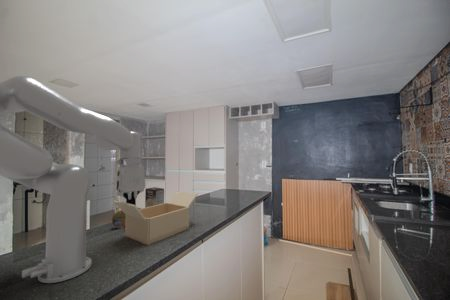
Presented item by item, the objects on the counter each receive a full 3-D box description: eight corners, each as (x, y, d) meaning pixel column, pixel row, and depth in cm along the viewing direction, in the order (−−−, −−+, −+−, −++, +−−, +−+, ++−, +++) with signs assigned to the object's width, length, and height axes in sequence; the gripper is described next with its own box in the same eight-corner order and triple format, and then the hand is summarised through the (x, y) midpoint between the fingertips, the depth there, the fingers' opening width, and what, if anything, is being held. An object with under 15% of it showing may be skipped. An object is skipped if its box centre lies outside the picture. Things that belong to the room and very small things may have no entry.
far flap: (196, 194, 101) (197, 195, 101) (177, 191, 109) (177, 192, 110) (188, 206, 96) (188, 207, 96) (168, 203, 104) (168, 203, 104)
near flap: (114, 200, 82) (113, 201, 82) (134, 204, 74) (133, 206, 73) (126, 213, 86) (125, 214, 85) (146, 218, 78) (145, 220, 77)
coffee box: (144, 217, 113) (144, 188, 113) (153, 214, 118) (154, 187, 119) (155, 220, 108) (155, 189, 109) (164, 216, 113) (164, 188, 114)
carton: (148, 245, 77) (148, 219, 77) (124, 235, 86) (125, 212, 87) (189, 228, 95) (189, 207, 95) (166, 222, 104) (166, 202, 105)
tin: (112, 230, 93) (112, 212, 93) (111, 228, 95) (111, 210, 96) (145, 223, 102) (146, 206, 103) (143, 222, 105) (144, 205, 105)
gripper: (116, 163, 72) (117, 215, 72) (152, 161, 84) (153, 205, 84) (106, 163, 76) (106, 212, 76) (141, 161, 89) (142, 203, 89)
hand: (131, 208), depth 80 cm, fingers closed
